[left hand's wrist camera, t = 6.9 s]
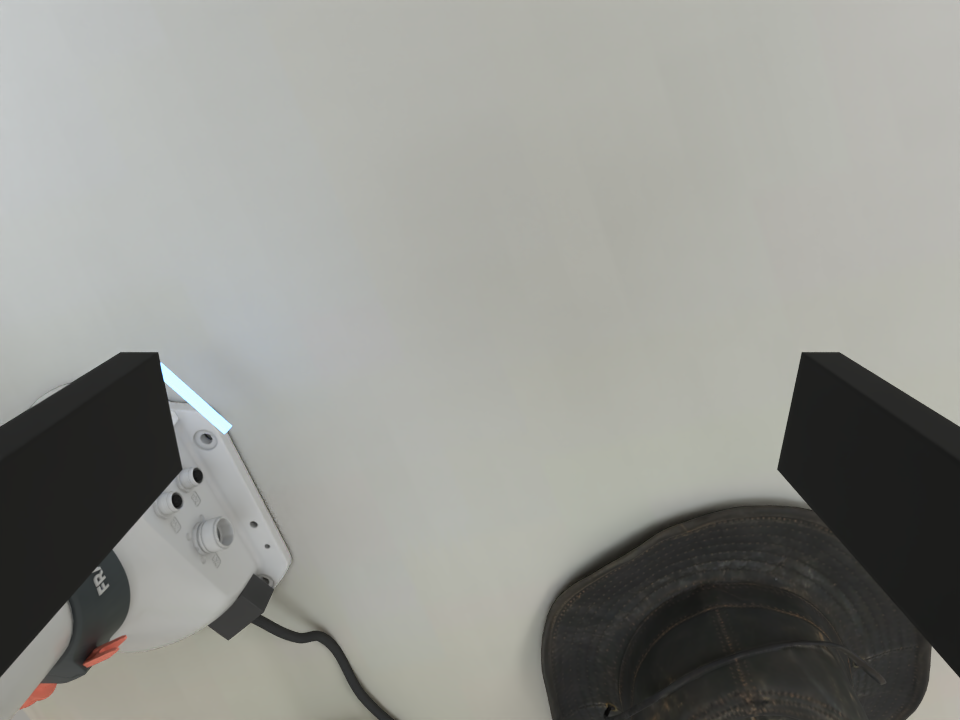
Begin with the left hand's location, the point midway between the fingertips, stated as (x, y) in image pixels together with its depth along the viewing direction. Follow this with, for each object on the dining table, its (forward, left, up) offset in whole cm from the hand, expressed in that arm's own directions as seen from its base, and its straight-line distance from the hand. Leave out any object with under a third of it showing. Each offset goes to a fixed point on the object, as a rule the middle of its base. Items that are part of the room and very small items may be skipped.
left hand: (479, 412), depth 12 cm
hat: (+39, +22, -28) cm, 53 cm away
